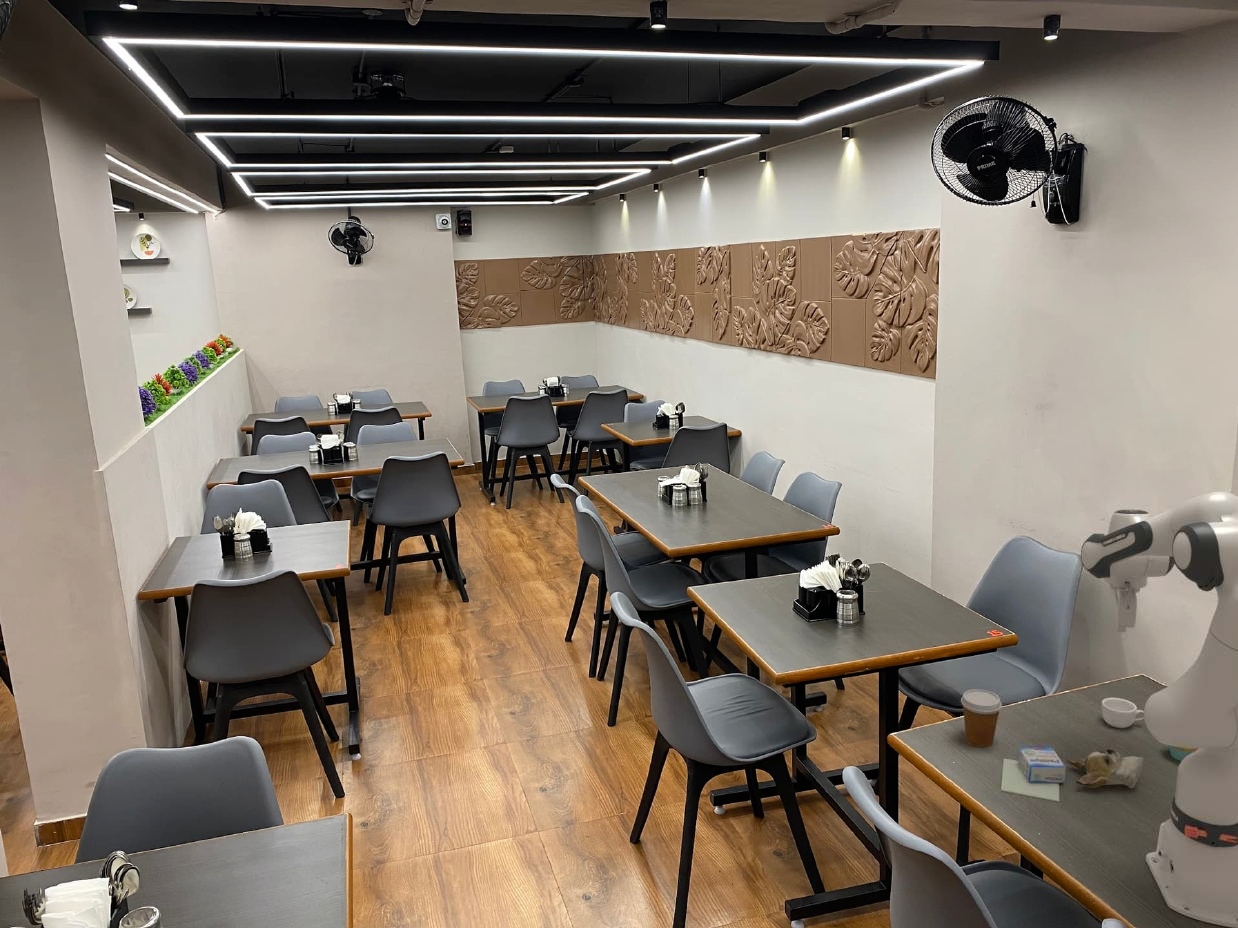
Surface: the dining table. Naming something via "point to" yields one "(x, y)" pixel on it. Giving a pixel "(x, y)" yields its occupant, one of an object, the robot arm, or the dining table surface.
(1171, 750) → the cupcake
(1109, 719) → the teacup
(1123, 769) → the ceramic sculpture
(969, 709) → the disposable coffee cup
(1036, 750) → the medicine box
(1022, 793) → the mat
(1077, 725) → the dining table surface
